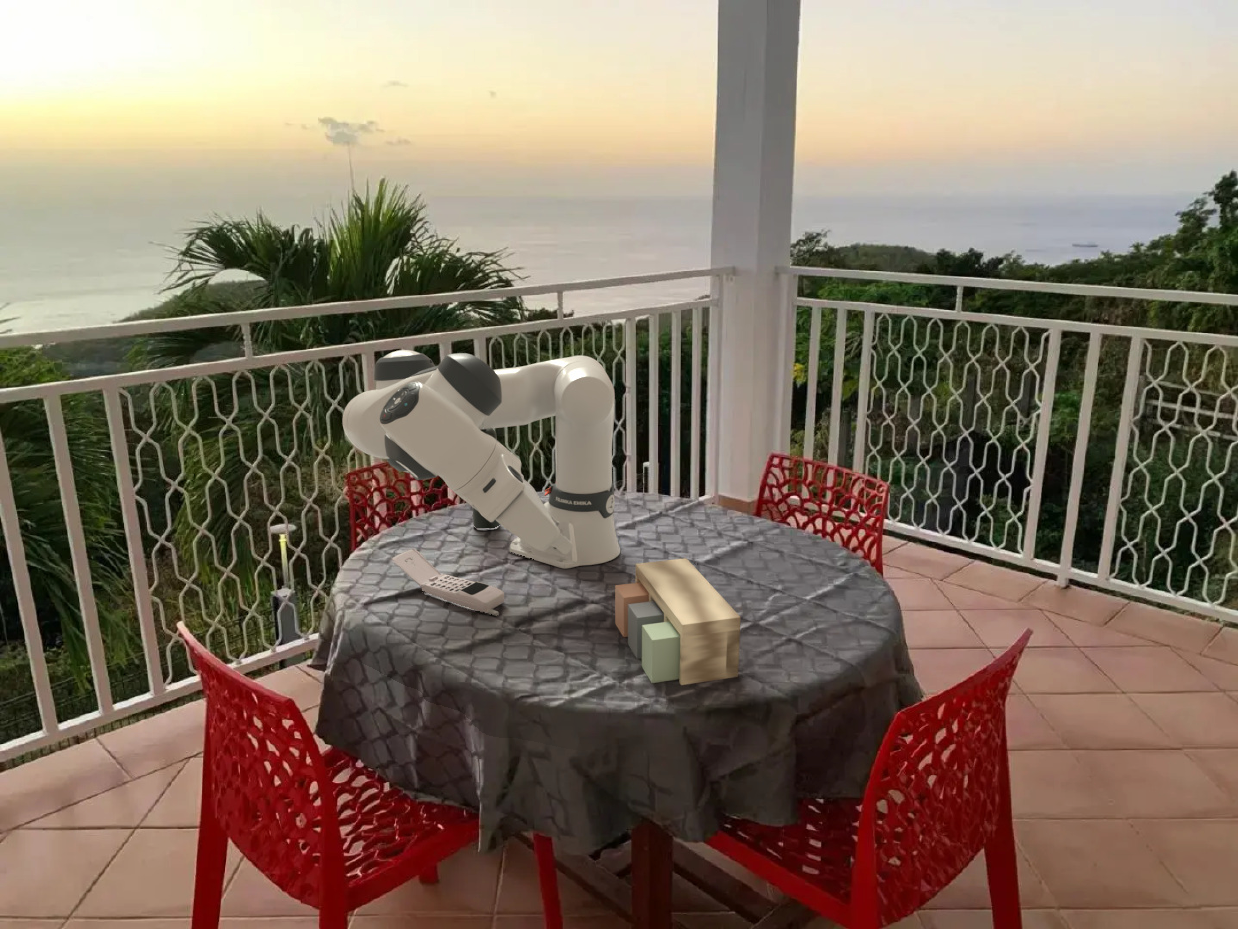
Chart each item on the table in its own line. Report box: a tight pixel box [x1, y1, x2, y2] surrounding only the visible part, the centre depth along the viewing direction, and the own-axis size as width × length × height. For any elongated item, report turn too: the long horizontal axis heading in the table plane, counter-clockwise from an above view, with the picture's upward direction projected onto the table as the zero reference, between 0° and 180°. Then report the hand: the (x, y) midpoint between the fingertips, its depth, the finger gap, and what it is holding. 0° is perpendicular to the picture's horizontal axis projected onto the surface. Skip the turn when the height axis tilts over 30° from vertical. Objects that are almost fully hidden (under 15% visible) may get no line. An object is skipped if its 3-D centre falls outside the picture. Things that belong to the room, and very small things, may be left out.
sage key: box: [641, 622, 680, 684], centre depth 135 cm, size 7×5×7 cm
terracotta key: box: [614, 582, 649, 638], centre depth 149 cm, size 7×5×7 cm
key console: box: [634, 557, 741, 686], centre depth 143 cm, size 9×23×10 cm, turn 16°
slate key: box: [627, 601, 664, 660], centre depth 142 cm, size 7×5×7 cm
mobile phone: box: [390, 548, 506, 617], centre depth 162 cm, size 6×6×25 cm
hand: (562, 539), depth 126 cm, fingers open, 6 cm apart
